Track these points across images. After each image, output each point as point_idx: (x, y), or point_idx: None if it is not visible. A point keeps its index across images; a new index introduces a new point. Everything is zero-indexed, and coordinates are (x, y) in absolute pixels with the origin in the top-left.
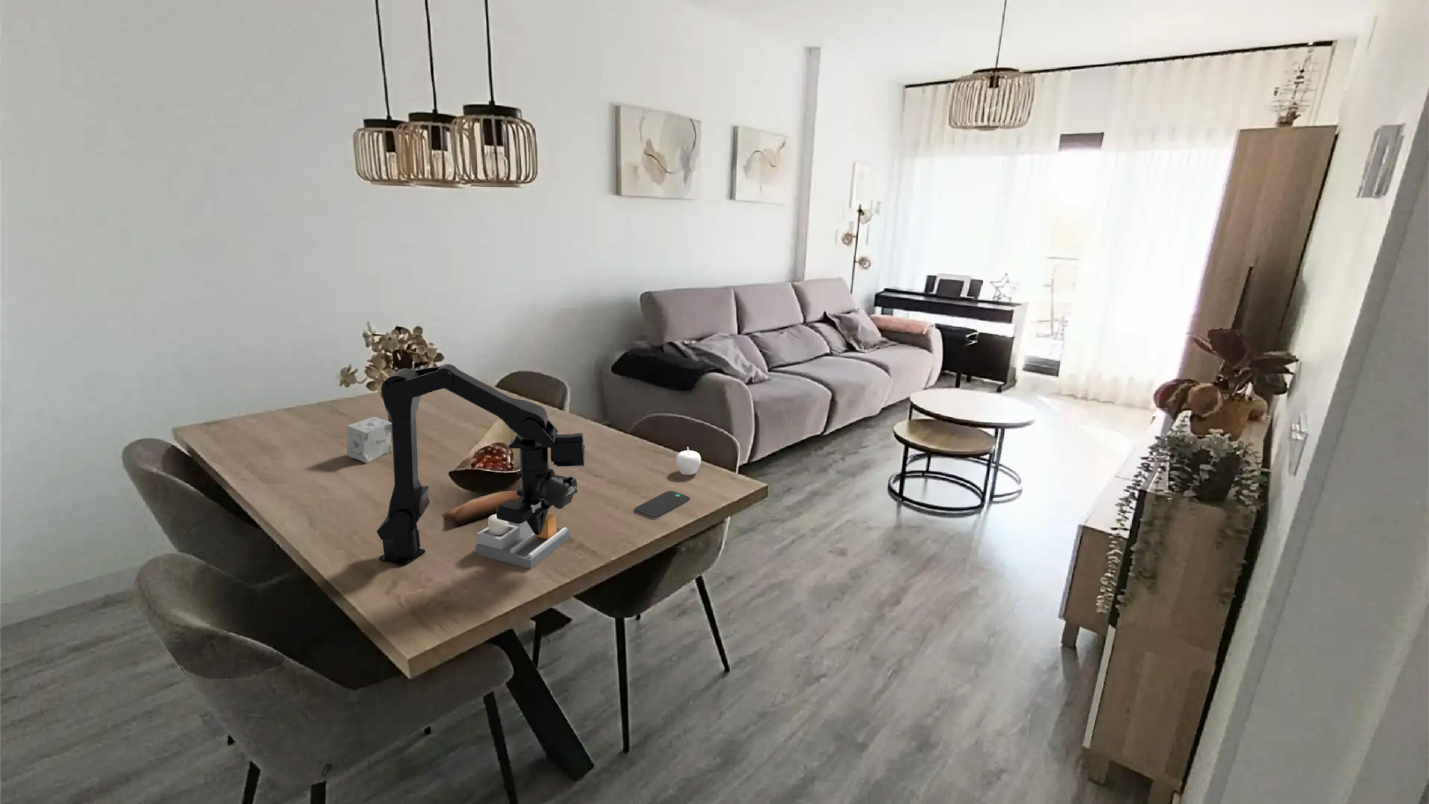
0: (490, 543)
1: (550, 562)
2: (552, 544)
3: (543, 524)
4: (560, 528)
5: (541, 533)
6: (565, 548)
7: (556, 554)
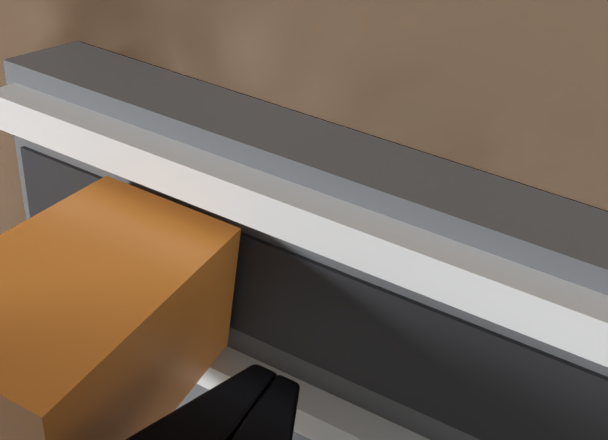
0: None
1: (582, 78)
2: (302, 158)
3: (147, 427)
4: (18, 162)
5: (205, 332)
6: (239, 11)
7: (379, 68)
